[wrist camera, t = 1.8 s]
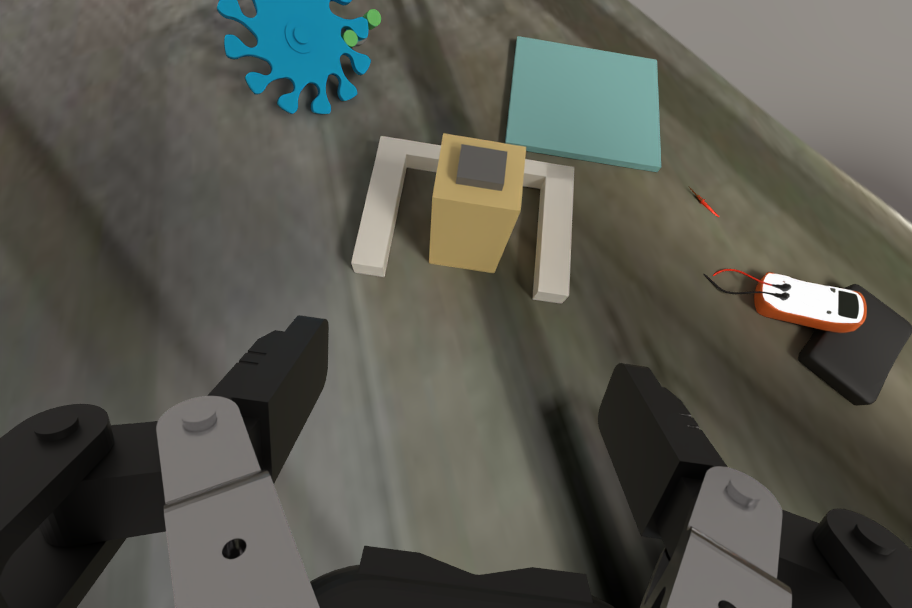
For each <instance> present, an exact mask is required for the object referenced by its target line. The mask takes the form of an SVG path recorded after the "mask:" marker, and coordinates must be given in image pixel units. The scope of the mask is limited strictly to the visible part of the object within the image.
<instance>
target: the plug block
mask: <svg viewBox="0 0 912 608" xmlns="http://www.w3.org/2000/svg"><path fill="white" fill-rule="evenodd" d="M525 156H526V147H524V146H518V145H511V144H505V143H499V142H493V141H487V140H481V139H475V138H469V137H462V136H456V135H450V134H444V133H443V138H442V144H441V150H440V156H439V162H438V167H437V173H436V179H435V185H434V191H433V196H432V214H431V233H430V253H429V263H431V264H437V265H444V266H450V267H457V268H464V269H470V270H477V271H483V272H490V273H494V272H495V270H496V268H497V265H498V263H499V261H500V258H501V256H502V254H503V251H504V249H505V247H506V244H507V242H508V239H509V237H510V235H511V232H512V230H513V228H514V225H515V223H516V221H517V218H518V216H519V214H520V211H521V200H522V189H523V178H524V167H525Z"/></svg>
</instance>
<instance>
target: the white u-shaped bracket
mask: <svg viewBox="0 0 912 608" xmlns="http://www.w3.org/2000/svg"><path fill="white" fill-rule="evenodd" d="M440 150H441V145H435V144H428V143H422V142H416V141H410V140H404V139H398V138H391V137H385V136H381V137H380V142H379V146H378V150H377V155H376V159H375V163H374V167H373V172H372V176H371V180H370V185H369V189H368V193H367V198H366V202H365V206H364V210H363V215H362V219H361V223H360V228H359V232H358V236H357V240H356V245H355V249H354V253H353V258H352V262H351V264H352V267H353V269H354V272H355V273H361V274H368V275H374V276H381V277H385V273H386V268H387V263H388V258H389V253H390V248H391V243H392V238H393V233H394V228H395V223H396V218H397V213H398V208H399V203H400V198H401V193H402V188H403V183H404V178H405V173H406V169H407V168H412V169H419V170H425V171H431V172H437V167H438V162H439V156H440ZM523 186H525V187H532V188H538V189H540V202H539V216H538V229H537V243H536V257H535V271H534V284H533V298H532V299H534V300H541V301H547V302H554V303H561V304H562V303H563V302H564V301H565V300H566V299H567V297H568V296H569V282H570V259H571V235H572V211H573V187H574V167H571V166H565V165H558V164H552V163H546V162H540V161H534V160H527V159H525V167H524V178H523Z"/></svg>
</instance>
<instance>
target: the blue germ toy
mask: <svg viewBox="0 0 912 608" xmlns="http://www.w3.org/2000/svg"><path fill="white" fill-rule="evenodd" d="M252 1H253V3H254V6H255V9H256V13H257V15H256V16H255V17H254V18H248V17H246V16H245V15H244V14H243V13H242V12H241V9H240V7H239V4H238V1H237V0H219V3H218V6H217V10H218V12H219V13H220V14H221V15H222V16H223V17H225V18H227V19H232V20H235V21H237V22H239V23H241V24H242V25H244V26H245V27H246V28H247V29H248V30H249V31H250V32H251V33H252V34H253V35H254V36H255V37H256V39H257V46H256V47H254V48H250V47H247V46H246V45H244V44H243V42H242V41H241V40H240V39H239V38H238V37H236V36H234V35H230V34H228V35H225V39H224V46H225V52H226V56H227V57H228V58H230V59H238V58H241V57H245V56H252V57H256V58H259V59H262V60H264V61H266V62H268V63H269V65H270V66H271V73H270V74H269V75H262V74H260V73H257V72H250V73H248V74H247V75H246V77H245V80H246V82H247V84H248V86H249V88H250V89H251V90H252V92H253V93H254V94H260V93H262V92H263V91H264V90H265V88H266V86H267V85H268V84H269V83H270V82H272V81H274V80H277V79H282V78H287V79H289V80H290V81H291V82H292V83H293V86H294V89H293V92H292V93H289V94H284V95H282V96H280V97H279V98H278V101H277V105H278V106H279V107H280V108H282V109H283V110H284V111H286V112H288V113H290V114H293V113H295V112H296V111H297V109H298V98H299V94H300V92H301V90H302V89H303V88H304V87H305V86H306V85H307V84H308V83H312V84H314V85H315V86H316V87H317V89H318V95H317V97H316V98H315V99H314V100H313V101H312V103H311V110H312V112H314V113H317V114H330V111H331V105H330V103H329V101H328V99H327V95H326V82H327V77H328V75H330V74H331V75H334V76H336V77H337V79H338V81H339V85H338V90H337V94H338V97H339V99H340V100H341V101H346V100H349V99H351V98H353V97H355V96H356V95H357V89H356V88H355V86H354V85H353V84H351V83H350V82H349V81H348V80H347V78H346V77H345V75H344V73H343V71H342V68H341V64H340V56H341V55H346V56H348V57H349V59H350V61H351V65H352V68H353V70H354V72H355V73H356V74H358V75H362V74H364V73H365V72H366V71H367V70H368V68H369V65H370V63H371V60H370V58H369V57H368V56H367V55H365V54H360V53H358V52H356V51H354V50H352V49H351V48H352V47H354V46H359V45H361V44H363V43H364V42H365V41H366V39H367V36H368V29H369V30H371V29H373V28H375V27H376V26H378V25H379V24H380V22H381V16H380V14H379V12H378V11H377V10H375V9H371V10H369V11H368V12H367V13H366V14H364V15H363V17H358V18H356V19H352V20H347V19H343V18H340V17H338V16H336V15H334V14H333V13H332V12H331V11H330V8H329V2H330V1H335V2H337V3H339V4H341V5H347V4H349V3H350V2H351V1H352V0H252Z"/></svg>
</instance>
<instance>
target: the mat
mask: <svg viewBox="0 0 912 608" xmlns="http://www.w3.org/2000/svg"><path fill="white" fill-rule="evenodd" d="M505 144H511V145H518V146H524V147H526V151H529V152H535V153H542V154H548V155H554V156H560V157H566V158H572V159H579V160H585V161H591V162H597V163H603V164H609V165H616V166H622V167H628V168H634V169H640V170H646V171H653V172H658V171H659V169H660V168H661V149H660V124H659V100H658V75H657V60H654V59H648V58H642V57H636V56H630V55H624V54H619V53H613V52H607V51H601V50H595V49H590V48H584V47H578V46H572V45H566V44H560V43H555V42H549V41H543V40H537V39H531V38H525V37H520V36H518V37H517V41H516V48H515V57H514V66H513V75H512V84H511V93H510V102H509V111H508V120H507V129H506V138H505Z"/></svg>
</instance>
